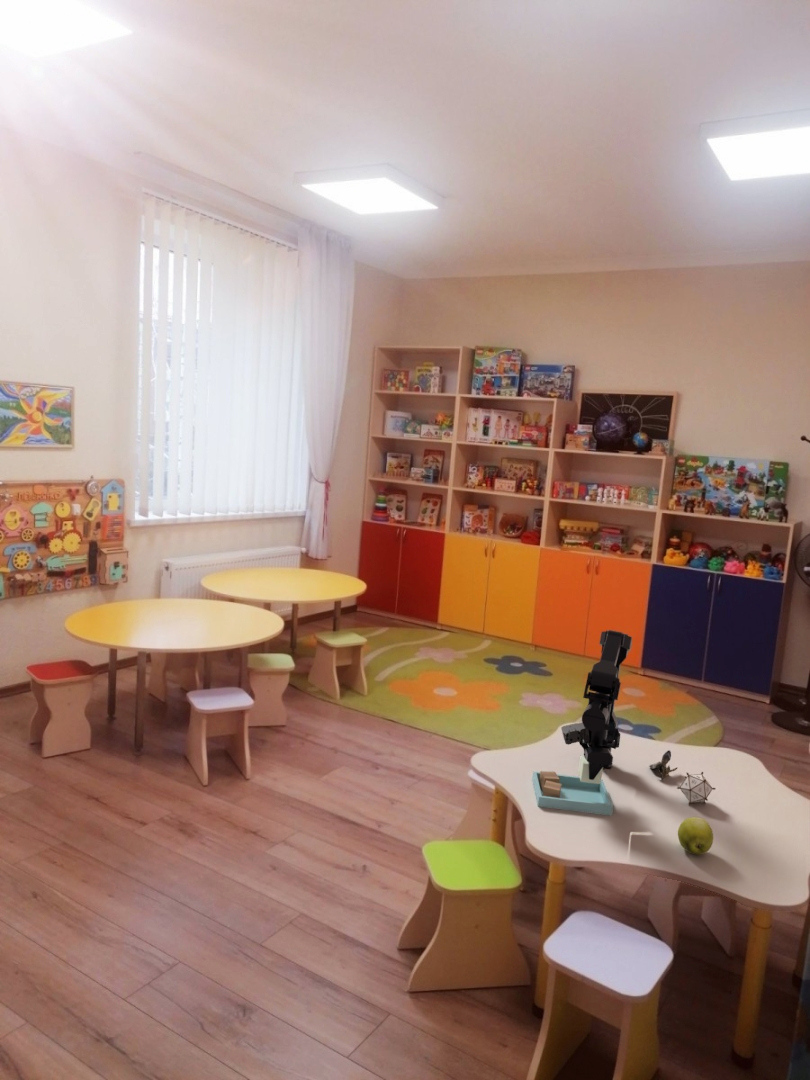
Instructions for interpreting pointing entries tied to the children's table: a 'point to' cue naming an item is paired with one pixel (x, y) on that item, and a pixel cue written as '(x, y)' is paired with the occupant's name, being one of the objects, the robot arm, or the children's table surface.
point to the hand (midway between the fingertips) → (589, 774)
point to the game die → (696, 788)
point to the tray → (575, 796)
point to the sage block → (587, 772)
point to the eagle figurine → (663, 765)
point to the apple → (695, 835)
